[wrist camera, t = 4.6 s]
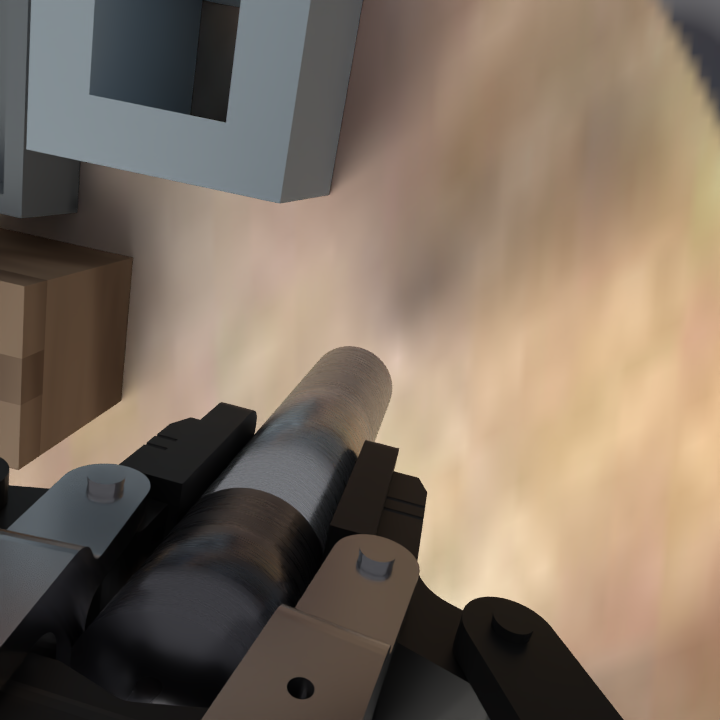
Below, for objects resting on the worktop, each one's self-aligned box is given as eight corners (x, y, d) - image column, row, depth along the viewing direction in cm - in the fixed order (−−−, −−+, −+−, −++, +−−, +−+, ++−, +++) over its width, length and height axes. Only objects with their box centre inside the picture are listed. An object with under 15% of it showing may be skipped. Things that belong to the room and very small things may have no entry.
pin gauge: (400, 357, 18) (282, 648, 7) (382, 433, 19) (246, 815, 7) (318, 337, 18) (70, 586, 7) (304, 413, 19) (56, 754, 8)
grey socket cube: (367, -28, 19) (328, -114, 13) (329, 194, 21) (279, 203, 15) (159, -66, 20) (36, -163, 14) (141, 155, 22) (26, 149, 16)
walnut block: (133, 257, 23) (24, 286, 17) (121, 400, 24) (18, 469, 19) (-10, 225, 23) (-164, 242, 17) (-12, 367, 25) (-153, 425, 19)
